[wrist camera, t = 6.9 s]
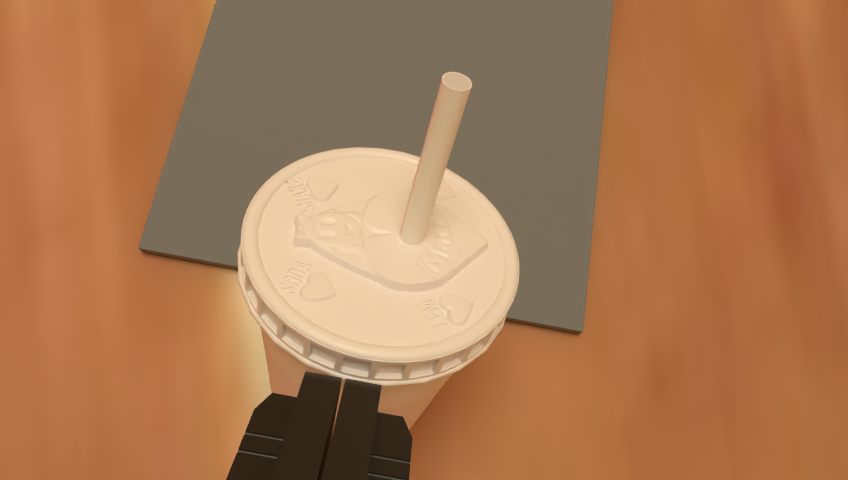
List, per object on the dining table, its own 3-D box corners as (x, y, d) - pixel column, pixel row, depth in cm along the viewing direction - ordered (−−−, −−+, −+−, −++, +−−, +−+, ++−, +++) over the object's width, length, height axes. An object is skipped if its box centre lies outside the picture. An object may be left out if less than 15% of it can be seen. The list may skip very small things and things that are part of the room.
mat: (578, 333, 25) (583, 331, 24) (142, 252, 24) (138, 248, 23) (611, -21, 30) (616, -28, 29) (252, -99, 29) (250, -108, 28)
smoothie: (440, 531, 21) (643, 225, 10) (223, 534, 19) (215, 186, 9) (424, 352, 25) (557, 8, 15) (245, 343, 23) (255, -40, 13)
